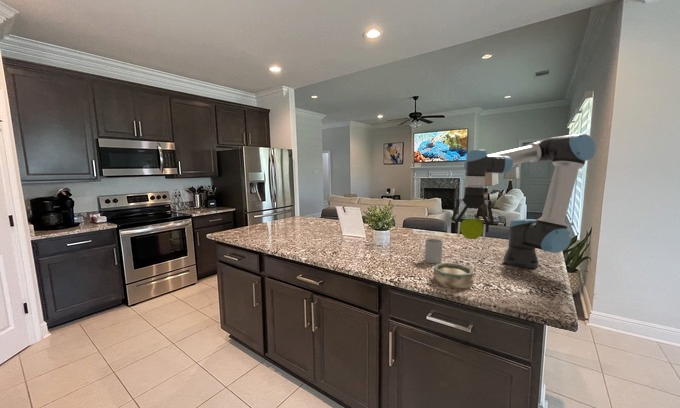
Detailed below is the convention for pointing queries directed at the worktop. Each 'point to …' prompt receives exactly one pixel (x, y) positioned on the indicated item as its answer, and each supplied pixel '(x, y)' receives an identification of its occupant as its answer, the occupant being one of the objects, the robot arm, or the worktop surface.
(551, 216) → the robot arm
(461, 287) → the shallow stone bowl
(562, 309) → the worktop surface
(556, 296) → the worktop surface
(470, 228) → the fruit
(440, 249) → the mug
